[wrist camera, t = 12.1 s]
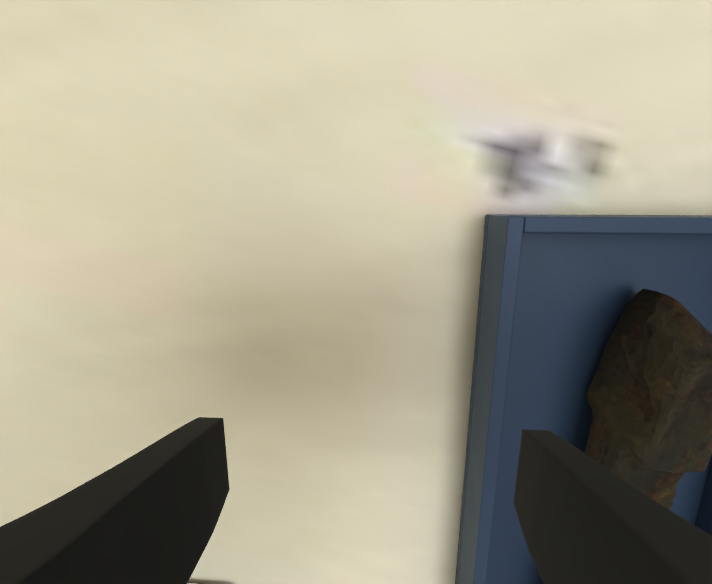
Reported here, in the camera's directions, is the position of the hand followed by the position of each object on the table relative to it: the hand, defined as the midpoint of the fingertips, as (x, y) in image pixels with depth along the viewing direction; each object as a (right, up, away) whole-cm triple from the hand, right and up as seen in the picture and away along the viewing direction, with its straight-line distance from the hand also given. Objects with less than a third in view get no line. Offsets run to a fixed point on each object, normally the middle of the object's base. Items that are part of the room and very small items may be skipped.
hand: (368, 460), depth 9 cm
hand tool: (+11, -5, +10) cm, 16 cm away
